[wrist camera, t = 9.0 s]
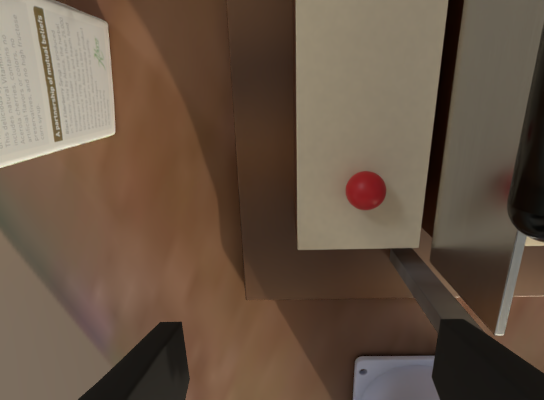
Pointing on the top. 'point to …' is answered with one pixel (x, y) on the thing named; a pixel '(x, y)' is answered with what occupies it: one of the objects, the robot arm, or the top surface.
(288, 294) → the cutting board
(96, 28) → the syrup box
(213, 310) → the top surface
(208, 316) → the top surface
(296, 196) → the cake
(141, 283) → the top surface
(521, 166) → the cleaver knife
